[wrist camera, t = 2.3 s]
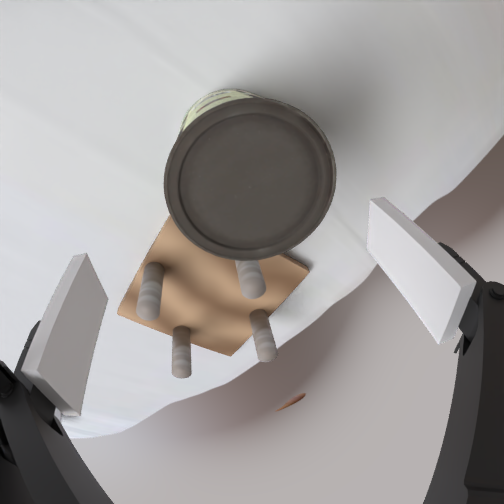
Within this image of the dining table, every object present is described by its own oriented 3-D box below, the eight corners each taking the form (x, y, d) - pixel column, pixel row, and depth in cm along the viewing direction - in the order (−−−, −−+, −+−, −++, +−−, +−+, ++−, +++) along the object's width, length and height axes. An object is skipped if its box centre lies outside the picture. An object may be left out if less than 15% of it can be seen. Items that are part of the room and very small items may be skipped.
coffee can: (238, 204, 33) (261, 286, 22) (158, 149, 29) (130, 206, 17) (301, 131, 30) (367, 176, 18) (223, 67, 25) (243, 60, 14)
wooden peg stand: (180, 197, 32) (176, 235, 25) (306, 266, 39) (328, 309, 32) (118, 307, 38) (107, 354, 31) (229, 350, 46) (236, 395, 39)
